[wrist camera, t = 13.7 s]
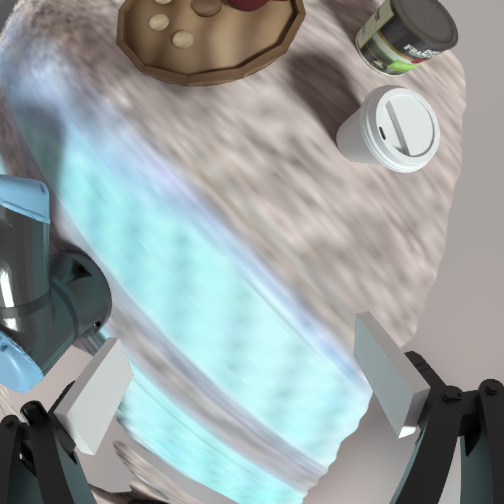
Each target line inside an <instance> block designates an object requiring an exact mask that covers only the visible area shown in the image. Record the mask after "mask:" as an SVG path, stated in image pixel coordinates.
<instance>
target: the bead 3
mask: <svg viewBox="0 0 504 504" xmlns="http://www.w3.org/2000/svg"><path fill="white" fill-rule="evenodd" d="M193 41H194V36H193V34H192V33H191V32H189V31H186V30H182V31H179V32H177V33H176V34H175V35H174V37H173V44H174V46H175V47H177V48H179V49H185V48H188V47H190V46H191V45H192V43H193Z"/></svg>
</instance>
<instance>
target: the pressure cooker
mask: <svg viewBox="0 0 504 504" xmlns="http://www.w3.org/2000/svg"><path fill="white" fill-rule="evenodd" d="M128 504H161V503H157V502H151V501H145V500H135V501H131V502H130V503H128Z"/></svg>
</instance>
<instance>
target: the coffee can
mask: <svg viewBox="0 0 504 504" xmlns="http://www.w3.org/2000/svg"><path fill="white" fill-rule="evenodd" d="M355 41H356V47H357V50H358V52H359V54H360V56H361V57H362V59H363V60H364V61H365V62H366V63H367V64H368V65H369V66H370V67H371V68H372V69H374V70H375V71H377V72H379V73H381V74H383V75H386V76H390V77H398V76H401V75H403V74H405V73H406V72H408V71H409V70H411V69H413V68H414V67H416V66H418V65H420V64H421V63H423V62H425V61H427V60H428V59H430V58H432V57H434V56H436V55H438V54H440V53H442V52H443V51H445V50H448V49H451V48H453V47H454V46H455V45H456V44H457V42H458V31H457V27H456V25H455V23H454V21H453V19H452V17H451V16H450V14H449V13H448V11H447V10H446V9H445V8H444V6H443V5H442V4H441V3H440V2H438V0H385V1H384V2H383V4H382V5H381V6H380V7H379V8H378V9H377V10H376V12H375V13H374V14H373V15H372V16H371V17H370V19H369V20H368V21H367V22H366V23H365V25H364V26H363V27H362V28H361V29H360V30H359V31H358V32H357V35H356V40H355Z"/></svg>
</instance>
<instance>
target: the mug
mask: <svg viewBox="0 0 504 504" xmlns="http://www.w3.org/2000/svg"><path fill="white" fill-rule="evenodd" d="M227 1H228V2H229V3H230V4H231V5H232V6H234V7H235V8H237V9H239V10H241V11H245V12H251V11H255V10H257V9H259V8H261V7H262V6H264V5H265V4H266V3H267V2H268V1H269V0H227ZM274 1H289V0H274Z"/></svg>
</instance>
